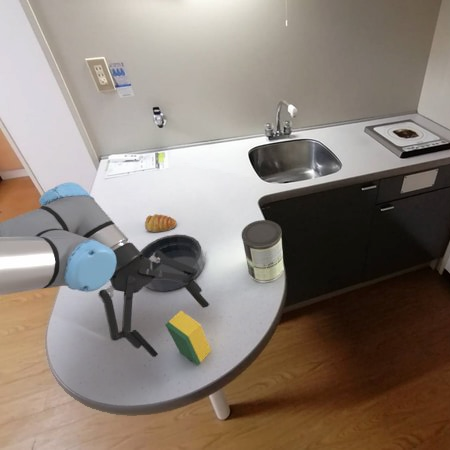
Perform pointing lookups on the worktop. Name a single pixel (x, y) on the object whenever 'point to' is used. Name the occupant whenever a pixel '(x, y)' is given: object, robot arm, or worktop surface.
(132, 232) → the worktop surface
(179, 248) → the bowl
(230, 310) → the worktop surface
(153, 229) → the pastry
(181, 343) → the sponge
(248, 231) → the coffee can
